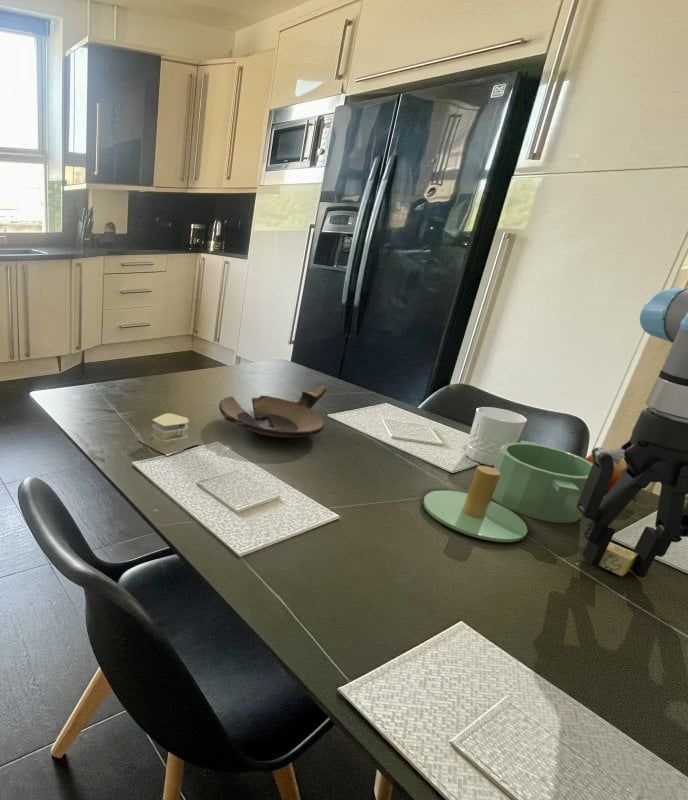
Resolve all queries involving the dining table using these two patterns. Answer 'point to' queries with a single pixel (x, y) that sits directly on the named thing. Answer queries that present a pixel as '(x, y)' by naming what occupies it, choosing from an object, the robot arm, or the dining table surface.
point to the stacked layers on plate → (169, 429)
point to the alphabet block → (618, 559)
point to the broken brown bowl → (277, 415)
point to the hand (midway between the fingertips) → (612, 565)
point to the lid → (477, 510)
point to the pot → (540, 481)
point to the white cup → (493, 433)
